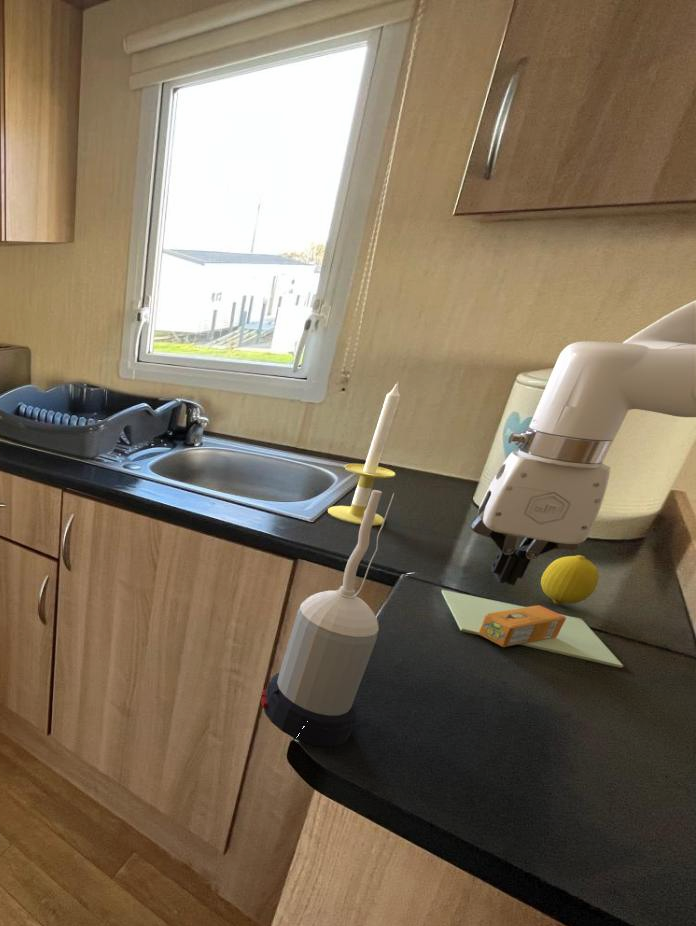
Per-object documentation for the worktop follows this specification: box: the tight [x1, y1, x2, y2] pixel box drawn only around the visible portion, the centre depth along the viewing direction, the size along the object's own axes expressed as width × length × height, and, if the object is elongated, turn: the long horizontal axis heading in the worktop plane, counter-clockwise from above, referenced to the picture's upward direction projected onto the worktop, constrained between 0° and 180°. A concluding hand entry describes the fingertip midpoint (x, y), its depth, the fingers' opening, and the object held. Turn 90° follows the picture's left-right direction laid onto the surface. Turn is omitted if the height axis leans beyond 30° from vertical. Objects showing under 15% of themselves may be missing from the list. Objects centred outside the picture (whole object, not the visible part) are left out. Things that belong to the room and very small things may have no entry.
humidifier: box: [260, 489, 395, 748], centre depth 52 cm, size 8×8×25 cm
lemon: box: [540, 554, 599, 606], centre depth 79 cm, size 6×6×8 cm
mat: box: [440, 589, 624, 669], centre depth 75 cm, size 16×12×1 cm
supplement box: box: [478, 604, 566, 648], centre depth 71 cm, size 3×3×10 cm
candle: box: [327, 380, 401, 527], centre depth 106 cm, size 10×10×27 cm
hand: (502, 579), depth 74 cm, fingers closed
